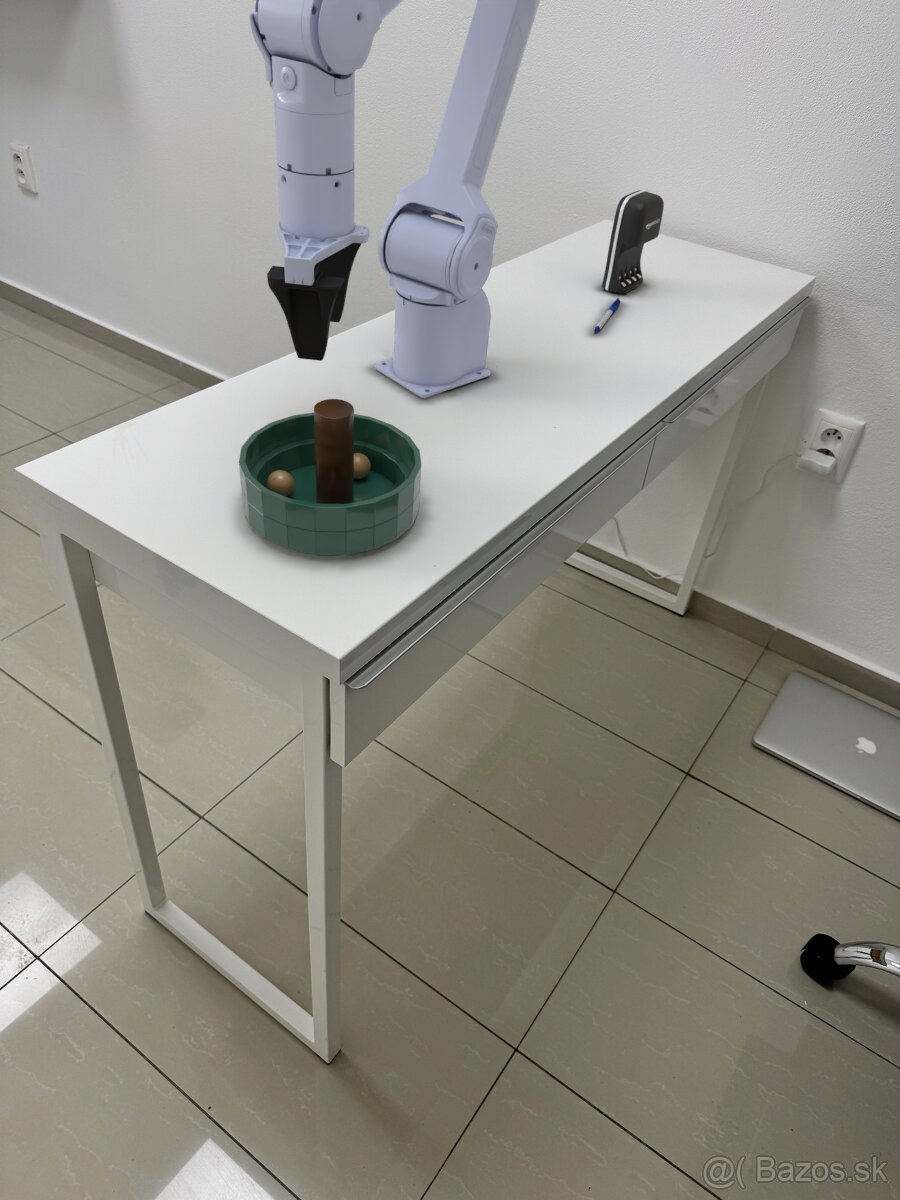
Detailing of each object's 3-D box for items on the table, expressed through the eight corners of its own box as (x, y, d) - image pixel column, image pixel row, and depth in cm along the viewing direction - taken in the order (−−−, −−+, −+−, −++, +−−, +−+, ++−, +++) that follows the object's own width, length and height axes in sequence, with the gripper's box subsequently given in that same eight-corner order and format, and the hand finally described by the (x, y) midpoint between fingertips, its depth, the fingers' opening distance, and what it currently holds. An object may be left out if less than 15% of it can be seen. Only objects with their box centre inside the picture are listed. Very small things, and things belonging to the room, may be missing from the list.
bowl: (350, 446, 79) (350, 396, 76) (452, 520, 71) (457, 468, 68) (212, 496, 71) (205, 443, 68) (309, 585, 64) (307, 530, 61)
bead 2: (363, 476, 72) (378, 473, 74) (355, 450, 72) (371, 448, 74) (343, 483, 73) (359, 481, 75) (335, 458, 73) (351, 456, 75)
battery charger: (625, 299, 111) (645, 204, 103) (599, 290, 112) (617, 196, 105) (650, 285, 115) (671, 193, 108) (625, 276, 117) (644, 186, 109)
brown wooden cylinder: (329, 516, 69) (327, 422, 64) (309, 498, 71) (306, 404, 66) (360, 505, 71) (361, 411, 65) (340, 487, 73) (339, 395, 67)
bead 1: (275, 466, 71) (257, 476, 70) (294, 465, 70) (277, 475, 69) (283, 491, 72) (266, 502, 71) (303, 490, 71) (286, 501, 70)
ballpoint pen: (613, 303, 110) (615, 295, 109) (620, 304, 109) (621, 296, 109) (592, 333, 102) (594, 325, 101) (600, 335, 102) (601, 327, 101)
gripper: (353, 199, 59) (352, 382, 68) (382, 145, 70) (379, 309, 79) (250, 188, 60) (263, 372, 68) (296, 136, 71) (302, 301, 79)
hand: (320, 338), depth 74 cm, fingers open, 7 cm apart
